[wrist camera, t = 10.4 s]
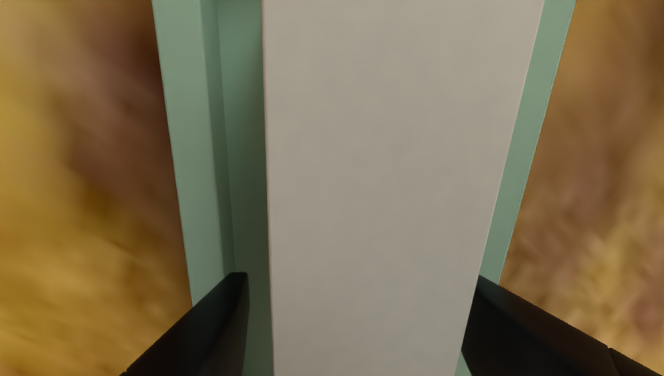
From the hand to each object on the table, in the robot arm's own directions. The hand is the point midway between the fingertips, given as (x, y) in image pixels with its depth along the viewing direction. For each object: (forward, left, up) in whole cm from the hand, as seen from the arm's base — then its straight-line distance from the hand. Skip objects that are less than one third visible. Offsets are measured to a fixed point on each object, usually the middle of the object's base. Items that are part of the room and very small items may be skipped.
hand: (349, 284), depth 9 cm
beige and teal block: (0, 0, -1) cm, 1 cm away
